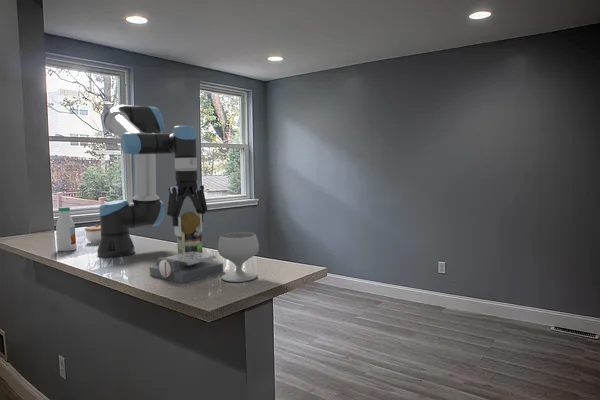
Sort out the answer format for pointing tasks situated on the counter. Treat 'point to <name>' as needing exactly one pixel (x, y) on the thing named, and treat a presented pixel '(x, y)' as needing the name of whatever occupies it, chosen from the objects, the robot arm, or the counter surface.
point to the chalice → (238, 253)
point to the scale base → (184, 270)
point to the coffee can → (189, 242)
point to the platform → (191, 257)
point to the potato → (189, 222)
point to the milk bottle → (65, 231)
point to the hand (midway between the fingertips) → (188, 233)
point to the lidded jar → (93, 234)
